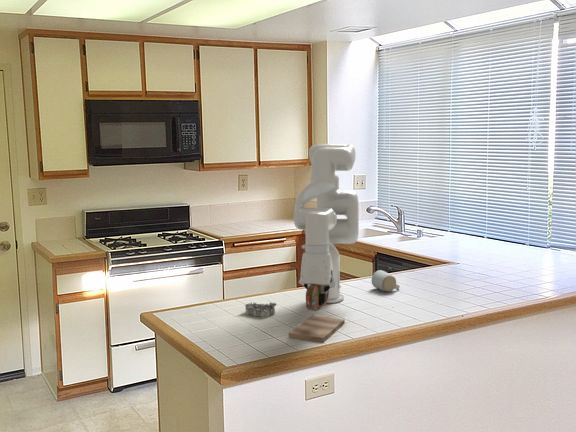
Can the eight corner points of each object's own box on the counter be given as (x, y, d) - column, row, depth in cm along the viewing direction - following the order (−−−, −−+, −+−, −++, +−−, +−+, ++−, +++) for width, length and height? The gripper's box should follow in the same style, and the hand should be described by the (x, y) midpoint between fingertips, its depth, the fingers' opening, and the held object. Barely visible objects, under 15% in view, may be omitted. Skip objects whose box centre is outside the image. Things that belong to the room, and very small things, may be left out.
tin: (312, 314, 202) (313, 288, 201) (303, 312, 203) (304, 287, 202) (329, 302, 215) (330, 278, 214) (320, 300, 217) (321, 276, 215)
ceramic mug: (382, 293, 254) (383, 275, 253) (370, 289, 261) (371, 270, 260) (404, 290, 258) (404, 272, 257) (391, 286, 266) (392, 268, 265)
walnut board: (312, 319, 222) (312, 315, 222) (344, 323, 217) (344, 319, 217) (288, 337, 204) (288, 332, 204) (323, 342, 199) (323, 337, 199)
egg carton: (278, 314, 230) (277, 303, 229) (264, 319, 224) (264, 308, 223) (255, 309, 236) (255, 298, 236) (242, 313, 230) (242, 303, 230)
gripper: (289, 249, 206) (290, 304, 209) (336, 253, 200) (336, 309, 202) (298, 245, 213) (299, 298, 216) (344, 248, 207) (344, 303, 209)
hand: (317, 303), depth 209 cm, fingers closed on tin, 2 cm apart
